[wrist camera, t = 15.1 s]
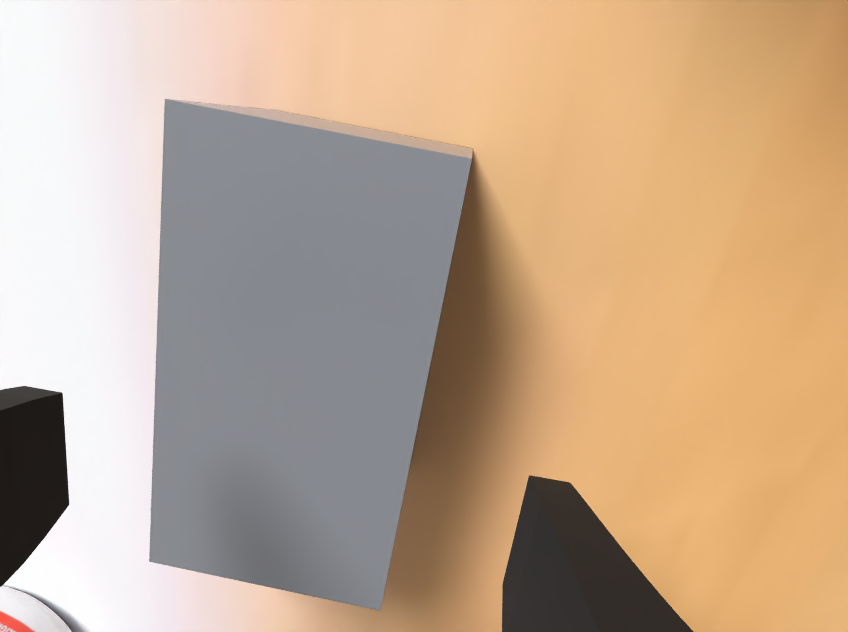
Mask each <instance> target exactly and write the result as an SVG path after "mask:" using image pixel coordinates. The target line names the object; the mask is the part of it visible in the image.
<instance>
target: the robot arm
mask: <svg viewBox="0 0 848 632" xmlns="http://www.w3.org/2000/svg"><path fill="white" fill-rule="evenodd" d="M68 506H69V494H68V477H67V461H66V444H65V427H64V411H63V394H62V393H61V392H55V391H49V390H44V389H38V388H32V387H27V386H22V387H15V388H9V389H3V390H0V587H1V586H2V585H3V584H4V583H5V582H6V581H7V580H8V579H9V578H10V577H11V576H12V575H13V574H14V573H15V572H16V571H17V570H18V569H19V568H20V567H21V565H22V564H23V563H24V562H25V561H26V560H27V558H28V557H29V556H30V555H31V554H32V552H33V551H34V550H35V549H36V547H37V546H38V545H39V544H40V542H41V541H42V540H43V539H44V538H45V536H46V535H47V534H48V532H49V531H50V530H51V528H52V527H53V526H54V524H55V523H56V522H57V520H58V519H59V518H60V516H61V515H62V514H63V512H64V511H65V510H66V508H67V507H68ZM502 632H693V631H692V630H691V629H690V628H689V626H688V625H687V624H686V623H685V622H684V621H683V620H682V619H681V618H680V617H679V615H678V614H677V613H676V612H675V611H674V610H673V609H672V607H671V606H670V605H669V604H668V603H667V602H666V601H665V599H664V598H663V597H662V596H661V595H660V594H659V593H658V591H657V590H656V589H655V588H654V587H653V585H652V584H651V583H650V582H649V581H648V580H647V578H646V577H645V576H644V575H643V573H642V572H641V571H640V570H639V569H638V567H637V566H636V565H635V564H634V563H633V561H632V560H631V559H630V558H629V556H628V555H627V554H626V553H625V551H624V550H623V549H622V548H621V546H620V545H619V544H618V543H617V541H616V540H615V539H614V538H613V536H612V535H611V534H610V533H609V531H608V530H607V529H606V527H605V526H604V525H603V524H602V522H601V521H600V520H599V518H598V517H597V516H596V515H595V513H594V512H593V511H592V509H591V508H590V507H589V506H588V504H587V503H586V502H585V500H584V499H583V498H582V497H581V495H580V494H579V493H578V492H577V490H576V489H575V488H574V487H573V486H572V484H571V483H569V482H564V481H558V480H552V479H547V478H541V477H535V476H530V475H529V478H528V482H527V486H526V491H525V495H524V499H523V503H522V507H521V511H520V515H519V519H518V523H517V528H516V532H515V536H514V540H513V544H512V548H511V552H510V556H509V560H508V564H507V569H506V573H505V577H504V581H503V603H502Z"/></svg>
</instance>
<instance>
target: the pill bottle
mask: <svg viewBox="0 0 848 632" xmlns="http://www.w3.org/2000/svg"><path fill="white" fill-rule="evenodd" d="M0 632H72V631H71V630H70V628H69V627H68V626H67V625H66V624H65V622H64V621H63V620H62V619H61V618H60V617H59V616H58V615H56V614H55V613H54V612H53V611H52V610H51V609H50V608H48V607H47V606H46V605H44V604H43V603H41V602H40V601H38V600H37V599H35V598H34V597H32V596H30V595H28V594H26V593H23V592H21V591H18V590H15V589H12V588H8V587H5V586H1V587H0Z"/></svg>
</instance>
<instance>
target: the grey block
mask: <svg viewBox="0 0 848 632" xmlns="http://www.w3.org/2000/svg"><path fill="white" fill-rule="evenodd" d="M472 153H473V148H468V147H463V146H458V145H452V144H447V143H442V142H437V141H432V140H427V139H422V138H416V137H411V136H406V135H401V134H396V133H391V132H385V131H380V130H375V129H370V128H365V127H360V126H355V125H349V124H344V123H339V122H334V121H329V120H324V119H319V118H313V117H308V116H303V115H298V114H293V113H288V112H283V111H277V110H272V109H262V108H251V107H241V106H231V105H221V104H211V103H201V102H191V101H181V100H171V99H165V111H164V141H163V171H162V201H161V231H160V260H159V290H158V320H157V350H156V380H155V410H154V439H153V469H152V499H151V529H150V559H149V562H154V563H159V564H163V565H168V566H173V567H177V568H182V569H187V570H192V571H196V572H201V573H206V574H210V575H215V576H220V577H224V578H229V579H234V580H239V581H243V582H248V583H253V584H257V585H262V586H267V587H272V588H276V589H281V590H286V591H290V592H295V593H300V594H304V595H309V596H314V597H319V598H323V599H328V600H333V601H337V602H342V603H347V604H351V605H356V606H361V607H366V608H370V609H375V610H380V609H381V605H382V600H383V595H384V590H385V585H386V580H387V575H388V570H389V565H390V560H391V555H392V550H393V546H394V541H395V536H396V531H397V526H398V521H399V516H400V511H401V506H402V501H403V496H404V491H405V486H406V482H407V477H408V472H409V467H410V462H411V457H412V452H413V447H414V442H415V437H416V432H417V427H418V422H419V418H420V413H421V408H422V403H423V398H424V393H425V388H426V383H427V378H428V373H429V368H430V363H431V358H432V354H433V349H434V344H435V339H436V334H437V329H438V324H439V319H440V314H441V309H442V304H443V299H444V294H445V290H446V285H447V280H448V275H449V270H450V265H451V260H452V255H453V250H454V245H455V240H456V235H457V231H458V226H459V221H460V216H461V211H462V206H463V201H464V196H465V191H466V186H467V181H468V176H469V171H470V167H471V162H472Z"/></svg>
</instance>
